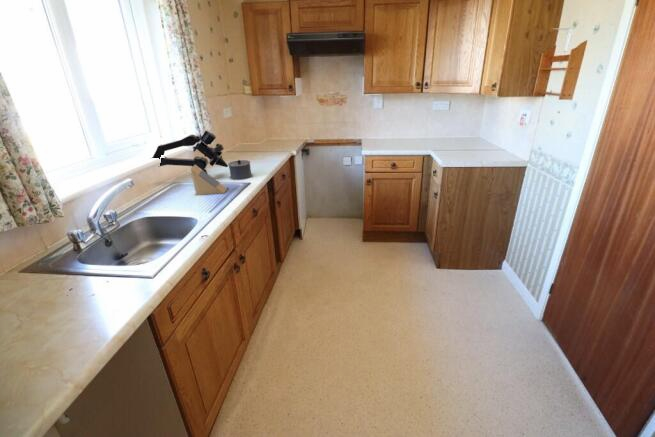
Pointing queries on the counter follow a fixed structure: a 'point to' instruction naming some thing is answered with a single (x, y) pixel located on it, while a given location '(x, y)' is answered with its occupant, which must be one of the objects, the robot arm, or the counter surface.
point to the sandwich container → (205, 182)
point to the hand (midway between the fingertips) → (227, 166)
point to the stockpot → (240, 169)
